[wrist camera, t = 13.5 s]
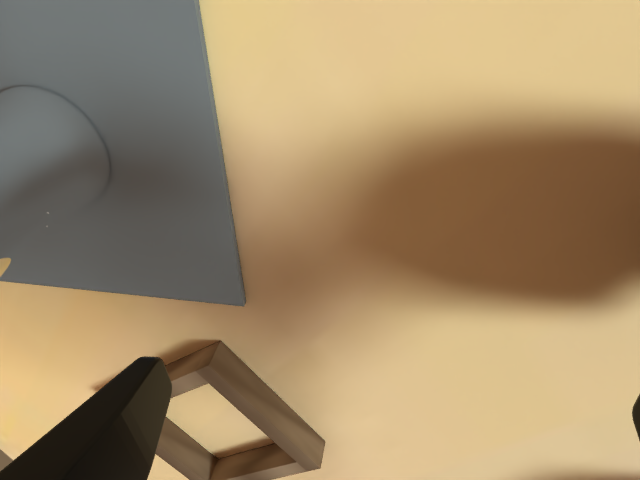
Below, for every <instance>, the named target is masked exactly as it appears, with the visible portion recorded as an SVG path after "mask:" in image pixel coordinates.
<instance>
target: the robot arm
mask: <svg viewBox="0 0 640 480" xmlns="http://www.w3.org/2000/svg"><path fill="white" fill-rule="evenodd" d="M171 394H172V383H171V380H170V377H169V375H168V372H167V370H166V367H165V365H164V362H163V360H162V359H160V358H158V357H140V358H138V359H137V360H135V361H134V362H133V363H132V364H131V365H129V366H128V367H127V368H126V369H124V370H123V371H122V372H121V373H120V374H118V375H117V376H116V377H115V378H113V379H112V380H111V381H110V382H109V383H107V384H106V385H105V386H104V387H103V388H101V389H100V390H99V391H98V392H96V393H95V394H94V395H93V396H92V397H90V398H89V399H88V400H87V401H85V402H84V403H83V404H82V405H81V406H79V407H78V408H77V409H76V410H75V411H73V412H72V413H71V414H70V415H68V416H67V417H66V418H65V419H64V420H62V421H61V422H60V423H59V424H57V425H56V426H55V427H54V428H53V429H51V430H50V431H49V432H48V433H46V434H45V435H44V436H43V437H42V438H40V439H39V440H38V441H37V442H36V443H34V444H33V445H32V446H31V447H29V448H28V449H27V450H26V451H25V452H23V453H22V454H21V455H20V456H18V457H17V458H16V459H15V460H14V461H12V463H10V464H9V465H8V466H6V467H5V468H4V469H3V470H1V471H0V480H147V478H148V475H149V473H150V470H151V467H152V463H153V460H154V457H155V453H156V449H157V446H158V442H159V438H160V435H161V431H162V428H163V424H164V420H165V417H166V413H167V409H168V406H169V402H170V398H171ZM632 416H633V421H634V425H635V428H636V431H637V434H638V437H639V441H640V395H639V396H638V398H637V400H636V402H635V404H634V406H633V411H632Z"/></svg>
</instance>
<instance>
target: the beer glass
mask: <svg viewBox="0 0 640 480" xmlns="http://www.w3.org/2000/svg"><path fill="white" fill-rule="evenodd" d="M109 177H110V162H109V157H108V153H107V150H106V147H105V145H104V142H103V140H102V138H101V136H100V135H99V133H98V131H97V130H96V128H95V127H94V125H93V124H92V123H91V122H90V120H89V119H88V118H87V117H86V116H85V115H84V114H83V113H82V112H81V111H80V110H79V109H78V108H77V107H75V106H74V105H73V104H72V103H70V102H69V101H67V100H66V99H64V98H63V97H61V96H59V95H57V94H55V93H53V92H51V91H48V90H46V89H42V88H39V87H33V86H17V87H12V88H9V89H7V90H4V91H2V92H0V277H1V276H2V274H3V273H4V272H5V271H6V270H7V268H8V267H9V266H10V265H11V264H12V262H13V261H14V260H15V259H16V258H17V256H18V255H19V254H20V253H21V252H22V250H23V249H24V248H25V247H26V246H27V245H28V244H29V243H30V241H31V240H32V239H33V238H34V237H35V236H36V235H37V234H38V233H39V232H41V231H42V230H43V229H44V228H45V227H48V225H49V224H51V223H52V222H53V221H55V220H57V219H58V218H60V217H62V216H64V215H66V214H68V213H70V212H72V211H74V210H77V209H79V208H81V207H83V206H85V205H87V204H89V203H91V202H92V201H94V200H95V199H97V198H98V197H99V196H100V195H101V194H102V193H103V191H104V190H105V188H106V186H107V184H108V181H109Z"/></svg>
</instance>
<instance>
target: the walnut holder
mask: <svg viewBox="0 0 640 480" xmlns="http://www.w3.org/2000/svg"><path fill="white" fill-rule="evenodd" d="M165 367H166V370H167V372H168V375H169V377H170V380H171V383H172V394H171V398H173V397H175V396H178V395H180V394H183V393H185V392H188V391H190V390H193V389H195V388H198V387H200V386H203V385H205V384H208V383H209V384H210V385H211V386H212V387H214V388H215V389H216V390H217V391H218V392H219V393H220V394H221V395H222V396H224V397H225V398H226V399H227V400H228V401H229V402H230V403H231V404H232V405H234V406H235V407H236V408H237V409H238V410H239V411H240V412H241V413H242V414H244V415H245V416H246V417H247V418H248V419H249V420H250V421H251V422H253V423H254V424H255V425H256V426H257V427H258V428H259V429H260V430H261V431H263V432H264V433H265V434H266V435H267V436H268V437H269V438H270V439H271V440H273V441H274V442H275V444H272V445H268V446H264V447H261V448H257V449H254V450H250V451H246V452H243V453H239V454H236V455H232V456H229V457H225V458H221V459H217V458H215V457H214V456H213V455H212V454H210V453H209V452H208V451H207V450H206V449H204V448H203V447H202V446H201V445H199V444H198V443H197V442H196V441H195V440H193V439H192V438H191V437H190V436H188V435H187V434H186V433H185V432H183V431H182V430H181V429H180V428H179V427H177V426H176V425H175V424H174V423H172V422H171V421H170V420H169V419H168V418H166V417H165V420H164V424H163V428H162V431H161V435H160V438H159V442H158V446H157V449H156V453H155V454H157V455H158V456H159V457H160V458H162V459H163V460H164V461H166V462H167V463H168V464H170V465H171V466H172V467H174V468H175V469H176V470H177V471H179V472H180V473H181V474H183V475H184V476H185V477H187V478H188V479H189V480H272V479H276V478H281V477H285V476H289V475H294V474H298V473H302V472H307V471H311V470H315V469H320V468H321V463H322V457H323V452H324V446H325V441H324V440H323V439H322V438H321V437H320V436H319V435H318V434H317V433H316V432H315V431H314V430H313V429H312V428H311V427H310V426H309V425H308V424H307V423H306V422H304V421H303V420H302V419H301V418H300V417H299V416H298V415H297V414H296V413H295V412H294V411H293V410H292V409H291V408H290V407H289V406H288V405H287V404H286V403H285V402H284V401H283V400H282V399H281V398H280V397H279V396H278V395H276V394H275V393H274V392H273V391H272V390H271V389H270V388H269V387H268V386H267V385H266V384H265V383H264V382H263V381H262V380H261V379H260V378H259V377H258V376H257V375H256V374H255V373H254V372H253V371H252V370H251V369H249V368H248V367H247V366H246V365H245V364H244V363H243V362H242V361H241V360H240V359H239V358H238V357H237V356H236V355H235V354H234V353H233V352H232V351H231V350H230V349H229V348H228V347H227V346H226V345H225V344H224V343H222V342H221V341H219V342H217V343H215V344H213V345H210V346H208V347H206V348H204V349H202V350H199V351H197V352H195V353H193V354H191V355H188V356H186V357H184V358H182V359H179V360H177V361H175V362H173V363H171V364H168V365H166V366H165Z"/></svg>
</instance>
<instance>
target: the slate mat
mask: <svg viewBox="0 0 640 480" xmlns="http://www.w3.org/2000/svg"><path fill="white" fill-rule="evenodd" d="M17 86H33V87H39V88H42V89H46V90H48V91H51V92H53V93H55V94H57V95H59V96H61V97H63V98H64V99H66V100H67V101H69V102H70V103H72V104H73V105H74V106H75V107H77V108H78V109H79V110H80V111H81V112H82V113H83V114H84V115H85V116H86V117H87V118H88V119H89V120H90V122H91V123H92V124H93V125H94V127H95V128H96V130H97V131H98V133H99V135H100V136H101V138H102V140H103V142H104V145H105V147H106V150H107V153H108V157H109V162H110V177H109V181H108V184H107V186H106V188H105V190H104V191H103V193H102V194H101V195H100V196H99V197H98V198H97V199H95V200H94V201H92V202H91V203H89V204H87V205H85V206H83V207H81V208H79V209H77V210H74V211H72V212H70V213H68V214H66V215H64V216H62V217H60V218H58V219H57V220H55V221H53V222H52V223H51V224H49V225H48V227H45V228H44V229H43V230H42V231H41V232H39V233H38V234H37V235H36V236H35V237H34V238H33V239H32V240H31V241H30V243H29V244H28V245H27V246H26V247H25V248H24V249H23V250H22V252H21V253H20V254H19V255H18V256H17V258H16V259H15V260H14V261H13V262H12V264H11V265H10V266H9V267H8V268H7V270H6V271H5V272H4V273H3V274H2V276H1V277H0V281H6V282H15V283H25V284H34V285H44V286H53V287H63V288H73V289H82V290H92V291H101V292H111V293H120V294H130V295H140V296H149V297H159V298H168V299H178V300H187V301H197V302H206V303H216V304H226V305H235V306H244V305H245V303H246V299H245V292H244V286H243V280H242V273H241V267H240V261H239V254H238V248H237V242H236V235H235V229H234V222H233V216H232V210H231V203H230V197H229V191H228V184H227V178H226V172H225V165H224V159H223V153H222V146H221V140H220V133H219V127H218V121H217V114H216V108H215V102H214V95H213V89H212V83H211V76H210V70H209V64H208V57H207V51H206V44H205V38H204V32H203V25H202V19H201V13H200V6H199V0H0V92H2V91H4V90H7V89H9V88H12V87H17Z"/></svg>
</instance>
